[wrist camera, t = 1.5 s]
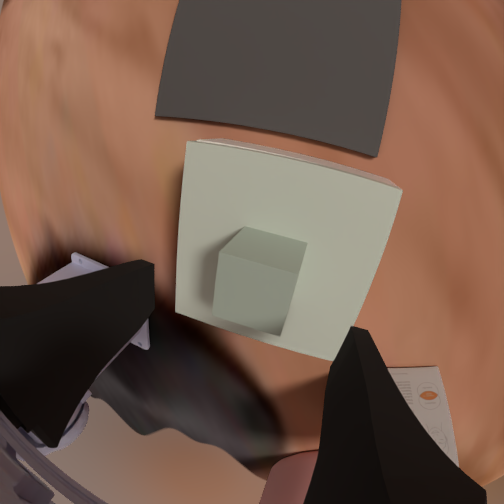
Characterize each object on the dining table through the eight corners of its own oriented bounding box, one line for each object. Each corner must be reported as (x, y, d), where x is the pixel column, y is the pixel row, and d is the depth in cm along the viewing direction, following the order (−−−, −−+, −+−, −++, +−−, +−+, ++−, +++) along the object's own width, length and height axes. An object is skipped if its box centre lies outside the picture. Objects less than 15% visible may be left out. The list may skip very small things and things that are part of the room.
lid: (187, 298, 18) (147, 342, 14) (201, 140, 14) (146, 144, 10) (336, 344, 16) (331, 404, 12) (395, 184, 12) (424, 207, 8)
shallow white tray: (204, 279, 21) (181, 304, 17) (223, 138, 16) (197, 139, 13) (338, 319, 19) (336, 353, 16) (388, 178, 14) (401, 189, 11)
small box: (337, 410, 22) (315, 537, 11) (347, 364, 20) (328, 523, 9) (418, 410, 20) (422, 531, 9) (440, 364, 18) (464, 508, 6)
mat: (158, 116, 17) (155, 115, 16) (198, -47, 11) (196, -49, 10) (376, 157, 14) (377, 157, 14) (401, -31, 8) (402, -34, 8)
